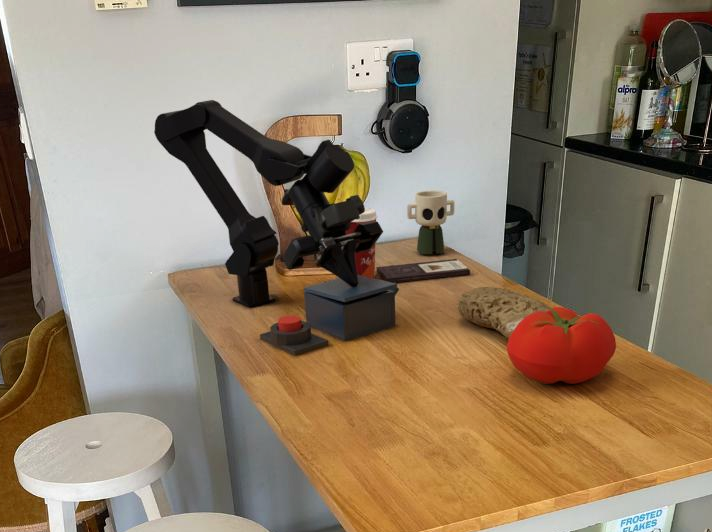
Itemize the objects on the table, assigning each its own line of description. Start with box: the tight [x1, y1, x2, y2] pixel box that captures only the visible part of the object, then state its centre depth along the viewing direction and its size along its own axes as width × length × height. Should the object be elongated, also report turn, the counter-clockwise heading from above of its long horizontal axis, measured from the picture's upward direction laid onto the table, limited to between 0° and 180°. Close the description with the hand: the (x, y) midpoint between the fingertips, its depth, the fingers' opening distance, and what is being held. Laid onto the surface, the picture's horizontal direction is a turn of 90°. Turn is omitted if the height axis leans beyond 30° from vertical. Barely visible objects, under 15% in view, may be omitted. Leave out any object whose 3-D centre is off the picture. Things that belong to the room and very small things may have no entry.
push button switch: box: [259, 320, 329, 357], centre depth 145 cm, size 11×7×3 cm
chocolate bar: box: [375, 258, 471, 283], centre depth 177 cm, size 9×1×18 cm
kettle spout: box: [390, 286, 400, 296], centre depth 152 cm, size 2×5×5 cm, turn 128°
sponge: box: [456, 286, 551, 341], centre depth 145 cm, size 13×8×20 cm
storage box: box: [303, 290, 396, 342], centre depth 150 cm, size 12×12×6 cm
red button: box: [277, 315, 302, 332], centre depth 144 cm, size 4×4×2 cm
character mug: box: [406, 190, 455, 255], centre depth 188 cm, size 11×7×13 cm, turn 101°
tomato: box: [506, 306, 617, 385], centre depth 126 cm, size 14×16×10 cm
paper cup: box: [345, 207, 379, 279], centre depth 172 cm, size 8×8×14 cm
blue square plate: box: [303, 275, 398, 302], centre depth 148 cm, size 12×12×1 cm
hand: (355, 285), depth 146 cm, fingers closed, pressing on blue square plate
